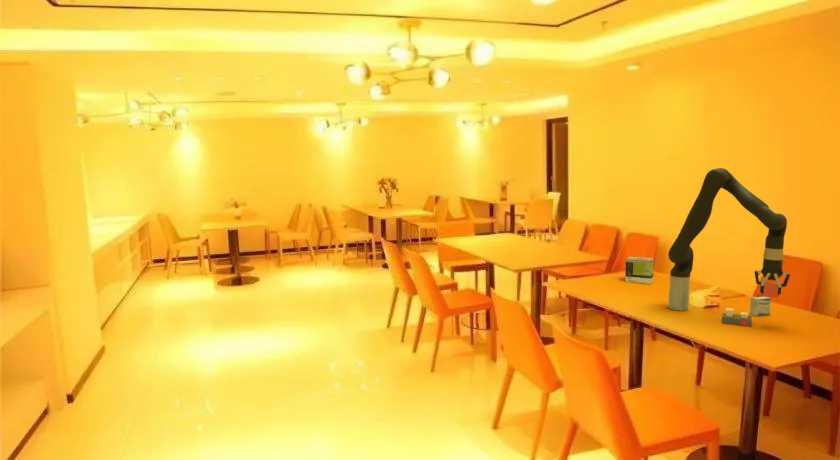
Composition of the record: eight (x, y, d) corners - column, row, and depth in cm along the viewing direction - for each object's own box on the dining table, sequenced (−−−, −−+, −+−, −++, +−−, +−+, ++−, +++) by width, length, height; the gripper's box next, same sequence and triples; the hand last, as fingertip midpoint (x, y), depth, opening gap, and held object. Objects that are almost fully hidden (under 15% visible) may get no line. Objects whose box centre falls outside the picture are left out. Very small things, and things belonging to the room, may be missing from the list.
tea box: (653, 281, 351) (654, 258, 349) (650, 284, 343) (651, 260, 341) (628, 278, 359) (629, 256, 357) (624, 281, 351) (625, 258, 349)
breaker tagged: (740, 323, 262) (740, 313, 262) (740, 321, 265) (740, 312, 264) (747, 324, 261) (748, 314, 260) (747, 322, 264) (748, 313, 263)
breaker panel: (721, 323, 264) (722, 317, 263) (722, 318, 271) (722, 312, 271) (751, 326, 258) (751, 320, 258) (750, 322, 265) (751, 315, 265)
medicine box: (756, 316, 274) (758, 299, 273) (749, 314, 278) (750, 297, 277) (769, 315, 276) (771, 298, 275) (762, 312, 280) (763, 295, 279)
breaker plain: (725, 318, 265) (726, 309, 265) (725, 317, 268) (726, 308, 267) (732, 319, 264) (733, 310, 263) (732, 318, 266) (733, 308, 266)
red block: (763, 296, 256) (764, 284, 255) (762, 293, 260) (763, 282, 260) (777, 297, 253) (778, 286, 252) (776, 295, 258) (777, 283, 257)
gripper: (755, 257, 254) (752, 294, 257) (792, 260, 248) (789, 298, 250) (754, 255, 261) (751, 290, 263) (791, 257, 254) (788, 294, 256)
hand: (770, 294), depth 257 cm, fingers closed on red block, 5 cm apart
